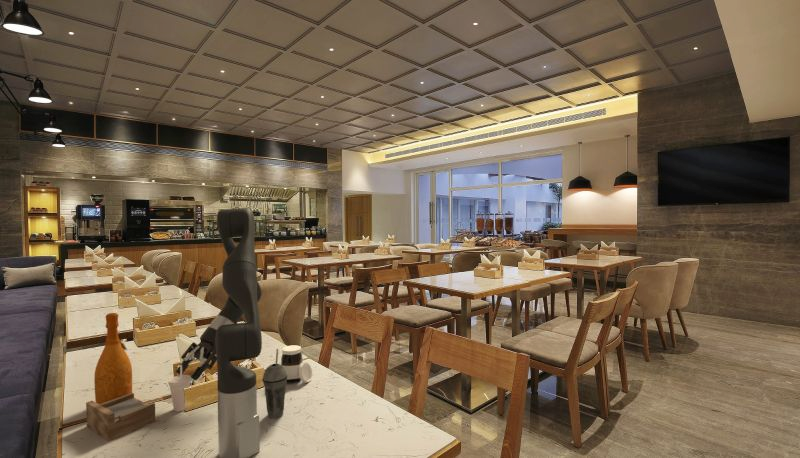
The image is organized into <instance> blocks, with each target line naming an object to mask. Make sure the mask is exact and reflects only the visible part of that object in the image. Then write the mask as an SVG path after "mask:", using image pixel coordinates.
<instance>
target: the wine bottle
mask: <svg viewBox="0 0 800 458" xmlns="http://www.w3.org/2000/svg"><path fill="white" fill-rule="evenodd" d="M119 325H120V324H119V313H117V312H110V313H107V314H106V315H105V328H106V330H107V332H106V338H105V343H104V348H103V350H102V352H101V354H100V356H99V358H98V360H97V363H96V366H95V369H94V380H93V381H94V397H95V398H94V399H95V401H94V402H96V403H98V404H101V403H104V402H107V401H110V400H113V399H116V398H119V397H122V396H124V395H127V394H130V393H133V367H132V363H131V360H130V358H129V355H128V354H127V352H126V351H128V349H127V348H128V347H126V345H125V343H124V342H123V341H122V340H120V338H119V332H118V327H119Z"/></svg>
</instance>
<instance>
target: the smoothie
mask: <svg viewBox="0 0 800 458" xmlns="http://www.w3.org/2000/svg"><path fill="white" fill-rule="evenodd" d="M179 366H180V374H178V375H176V376H173V377H171V378H169V379H168V383H167V385H168V386H169V390H170V396H171V402H172V407H173V411H174V412H177V413H178V412H182V411H186V409H185V403H184V391H183V389H184V388H188V387H190V386H191V385H190V384H191V381H192V378H191V376H192V375H190V374H182V365H181V364H180V365H179Z"/></svg>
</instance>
